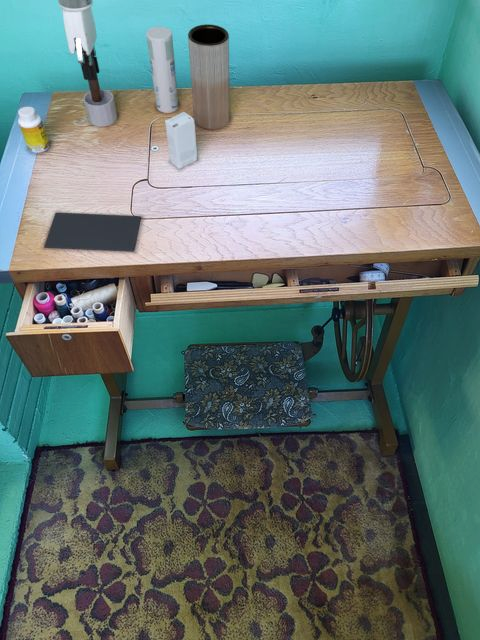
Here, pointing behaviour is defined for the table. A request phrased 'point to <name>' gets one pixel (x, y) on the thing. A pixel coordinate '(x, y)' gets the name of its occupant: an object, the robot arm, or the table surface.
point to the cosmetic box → (181, 139)
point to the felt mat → (93, 232)
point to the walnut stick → (94, 85)
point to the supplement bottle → (33, 130)
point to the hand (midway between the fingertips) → (91, 75)
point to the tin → (101, 109)
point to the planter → (210, 75)
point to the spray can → (163, 68)
